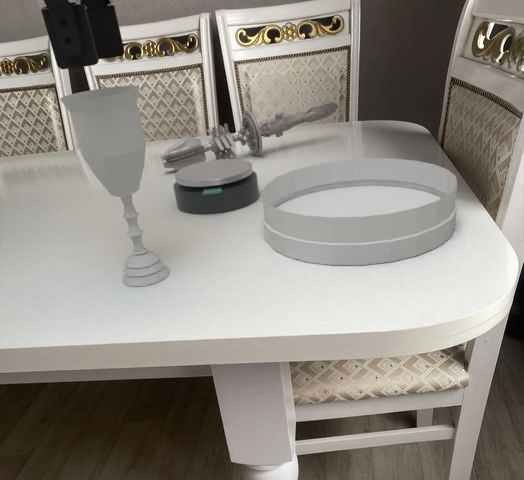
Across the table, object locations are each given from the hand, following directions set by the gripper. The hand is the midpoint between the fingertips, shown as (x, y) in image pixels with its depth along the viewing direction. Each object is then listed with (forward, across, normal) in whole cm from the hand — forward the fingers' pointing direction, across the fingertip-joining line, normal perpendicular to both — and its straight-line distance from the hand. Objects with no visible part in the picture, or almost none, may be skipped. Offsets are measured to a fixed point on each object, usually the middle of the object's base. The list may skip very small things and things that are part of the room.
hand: (95, 61), depth 45 cm
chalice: (+21, 0, 0) cm, 21 cm away
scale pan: (+17, -24, +6) cm, 30 cm away
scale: (+20, -24, +6) cm, 32 cm away
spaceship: (+20, -49, +12) cm, 55 cm away
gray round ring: (+21, -8, +24) cm, 32 cm away
